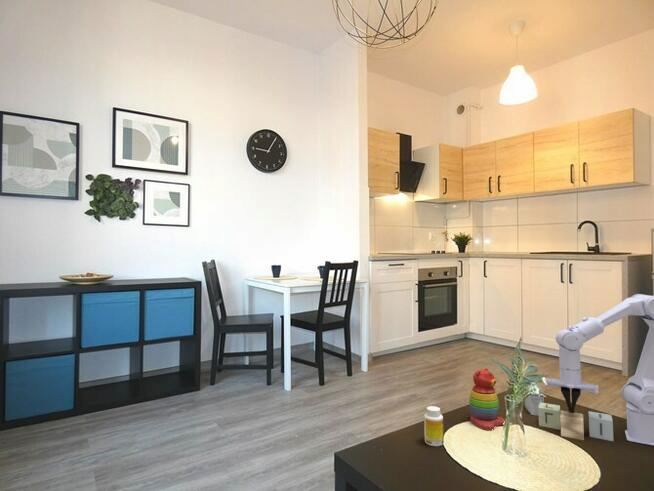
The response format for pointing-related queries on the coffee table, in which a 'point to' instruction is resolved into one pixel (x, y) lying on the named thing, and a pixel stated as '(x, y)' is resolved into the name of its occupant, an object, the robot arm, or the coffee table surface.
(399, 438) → the coffee table surface
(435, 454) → the coffee table surface
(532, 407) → the gray thick disc
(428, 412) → the supplement bottle
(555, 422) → the green letter cube
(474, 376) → the stacking bear
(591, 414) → the pale grey cube
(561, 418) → the plain birch block
